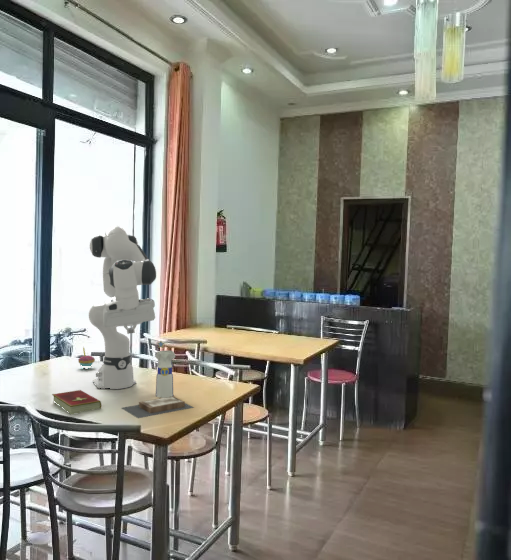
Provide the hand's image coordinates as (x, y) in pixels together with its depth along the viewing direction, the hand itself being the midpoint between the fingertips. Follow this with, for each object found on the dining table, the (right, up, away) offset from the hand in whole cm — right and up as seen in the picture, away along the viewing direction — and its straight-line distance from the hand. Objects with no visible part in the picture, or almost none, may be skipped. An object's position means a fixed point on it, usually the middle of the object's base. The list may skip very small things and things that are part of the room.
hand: (130, 332), depth 196 cm
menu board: (+7, -28, -7) cm, 30 cm away
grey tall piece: (+11, -30, +15) cm, 35 cm away
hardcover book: (-22, -30, -1) cm, 37 cm away
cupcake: (-42, -27, +69) cm, 85 cm away
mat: (+11, -30, -3) cm, 32 cm away
